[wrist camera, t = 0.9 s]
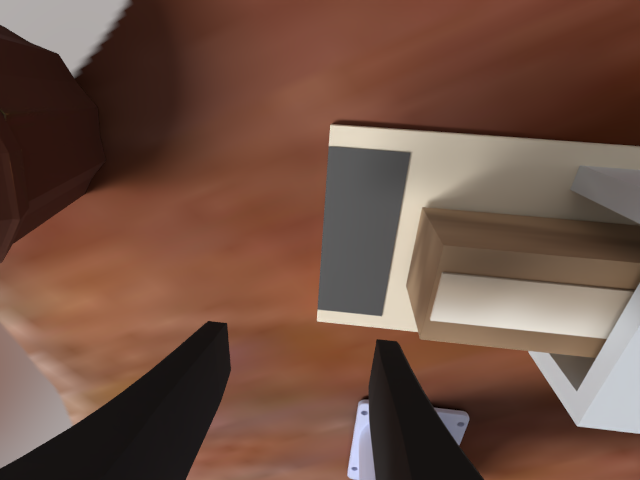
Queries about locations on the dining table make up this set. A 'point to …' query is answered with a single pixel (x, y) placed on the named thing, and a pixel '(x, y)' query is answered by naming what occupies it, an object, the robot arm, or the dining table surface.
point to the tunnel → (480, 196)
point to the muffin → (41, 138)
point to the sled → (521, 280)
